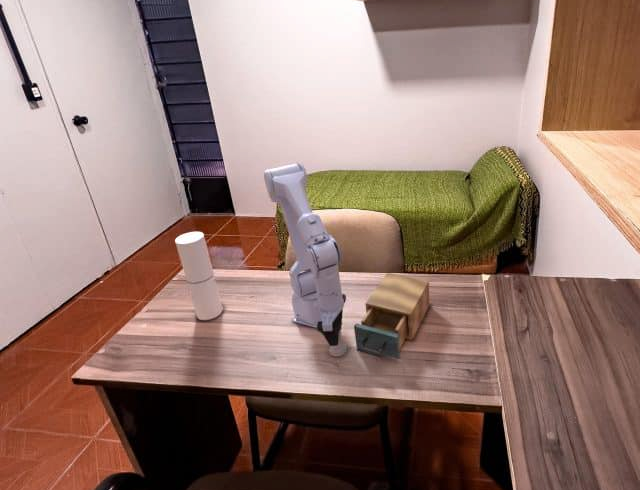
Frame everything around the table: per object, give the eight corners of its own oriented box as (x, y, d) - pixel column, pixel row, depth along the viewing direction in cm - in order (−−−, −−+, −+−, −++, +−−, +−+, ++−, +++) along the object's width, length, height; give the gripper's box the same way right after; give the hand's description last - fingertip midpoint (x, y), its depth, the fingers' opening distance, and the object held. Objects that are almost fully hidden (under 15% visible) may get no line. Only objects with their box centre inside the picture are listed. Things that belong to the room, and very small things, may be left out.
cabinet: (412, 340, 100) (410, 313, 97) (368, 328, 105) (365, 303, 101) (429, 305, 112) (428, 280, 108) (389, 296, 117) (387, 272, 113)
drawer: (391, 372, 90) (389, 350, 87) (348, 359, 95) (345, 337, 92) (417, 322, 105) (416, 302, 102) (378, 313, 109) (376, 293, 106)
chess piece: (344, 358, 96) (340, 333, 93) (327, 356, 97) (322, 331, 94) (349, 345, 100) (345, 320, 97) (332, 343, 101) (328, 319, 98)
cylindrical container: (191, 318, 113) (168, 242, 104) (207, 303, 120) (187, 230, 110) (212, 321, 112) (191, 244, 102) (227, 306, 118) (209, 232, 108)
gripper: (316, 271, 97) (323, 314, 103) (305, 309, 84) (314, 356, 90) (344, 269, 97) (350, 313, 103) (338, 308, 84) (344, 355, 89)
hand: (335, 333), depth 96 cm, fingers open, 7 cm apart
